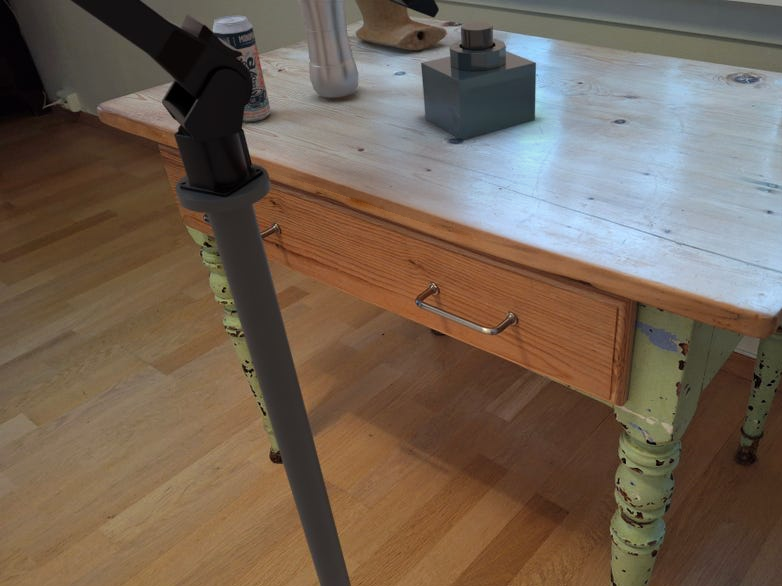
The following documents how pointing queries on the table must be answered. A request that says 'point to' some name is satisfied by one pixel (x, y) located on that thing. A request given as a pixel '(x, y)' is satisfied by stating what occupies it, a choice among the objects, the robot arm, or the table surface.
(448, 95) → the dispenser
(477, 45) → the grey push button
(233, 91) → the robot arm
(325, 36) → the plastic bottle
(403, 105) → the table surface
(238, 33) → the beer can
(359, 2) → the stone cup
